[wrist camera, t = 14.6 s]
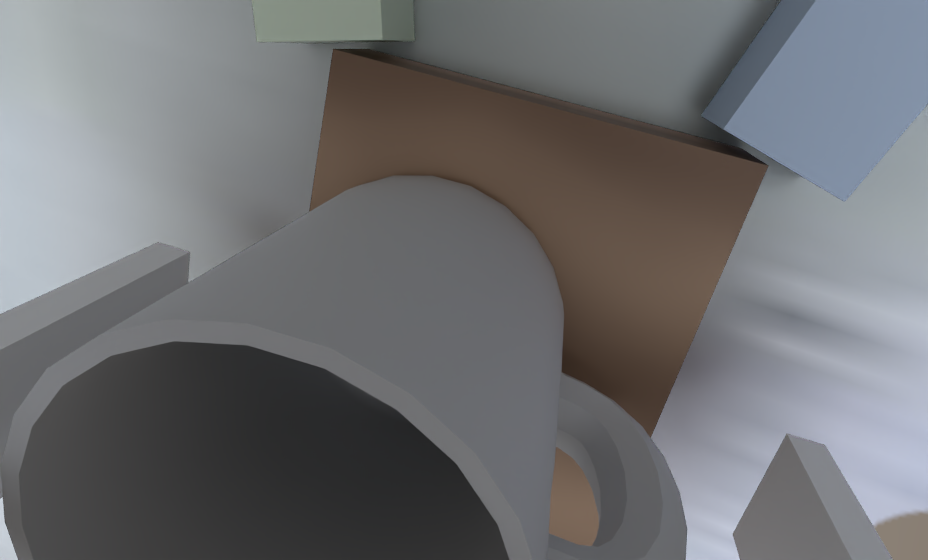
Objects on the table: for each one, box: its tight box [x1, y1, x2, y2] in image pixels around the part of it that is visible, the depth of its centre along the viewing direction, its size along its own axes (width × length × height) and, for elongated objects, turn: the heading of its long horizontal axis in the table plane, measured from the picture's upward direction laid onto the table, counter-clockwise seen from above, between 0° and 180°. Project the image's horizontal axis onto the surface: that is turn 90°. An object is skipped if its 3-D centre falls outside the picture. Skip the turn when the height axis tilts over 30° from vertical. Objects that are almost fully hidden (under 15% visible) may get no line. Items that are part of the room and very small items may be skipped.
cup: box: [1, 175, 687, 560], centre depth 12 cm, size 7×10×9 cm
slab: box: [309, 49, 768, 546], centre depth 17 cm, size 12×10×2 cm
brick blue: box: [701, 0, 928, 202], centre depth 13 cm, size 6×3×3 cm, turn 151°
